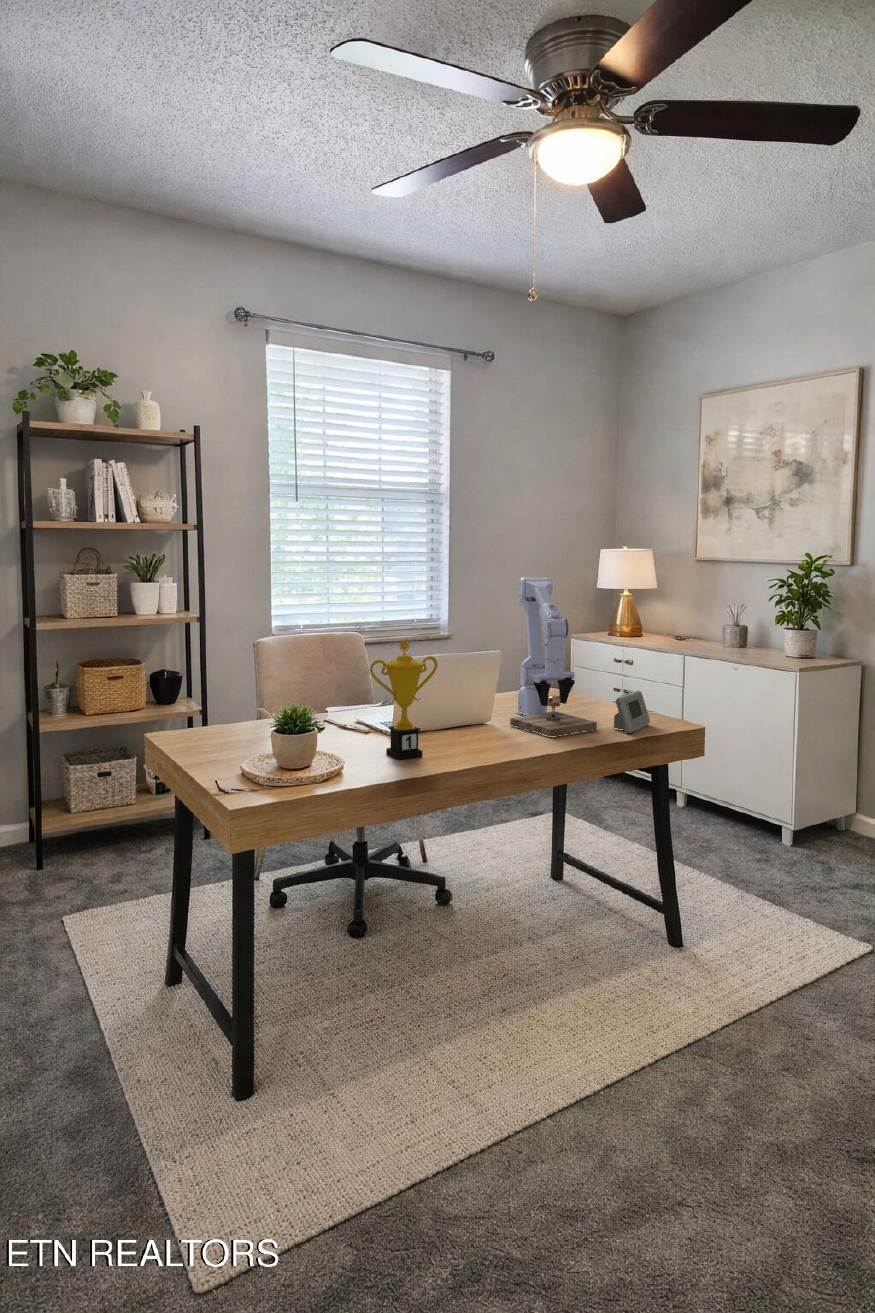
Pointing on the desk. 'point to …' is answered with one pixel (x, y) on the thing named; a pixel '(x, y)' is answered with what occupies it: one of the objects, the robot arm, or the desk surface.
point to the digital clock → (631, 712)
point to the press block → (553, 723)
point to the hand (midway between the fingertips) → (553, 704)
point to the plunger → (553, 703)
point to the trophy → (404, 700)
